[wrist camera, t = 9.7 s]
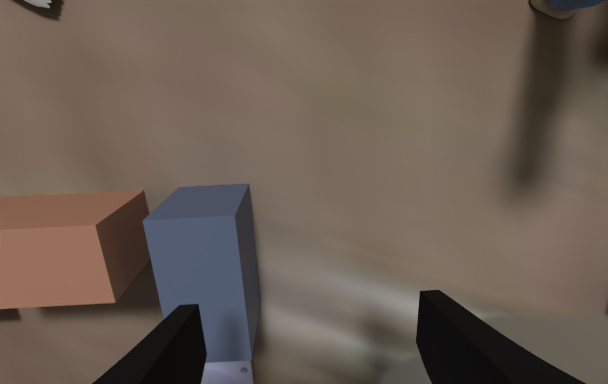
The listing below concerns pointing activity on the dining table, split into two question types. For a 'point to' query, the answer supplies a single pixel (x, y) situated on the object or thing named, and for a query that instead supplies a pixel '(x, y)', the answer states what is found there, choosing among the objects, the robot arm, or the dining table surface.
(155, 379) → the robot arm
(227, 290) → the navy brick
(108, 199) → the terracotta brick
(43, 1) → the food package
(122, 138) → the dining table surface
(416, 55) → the dining table surface
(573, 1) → the doll family
